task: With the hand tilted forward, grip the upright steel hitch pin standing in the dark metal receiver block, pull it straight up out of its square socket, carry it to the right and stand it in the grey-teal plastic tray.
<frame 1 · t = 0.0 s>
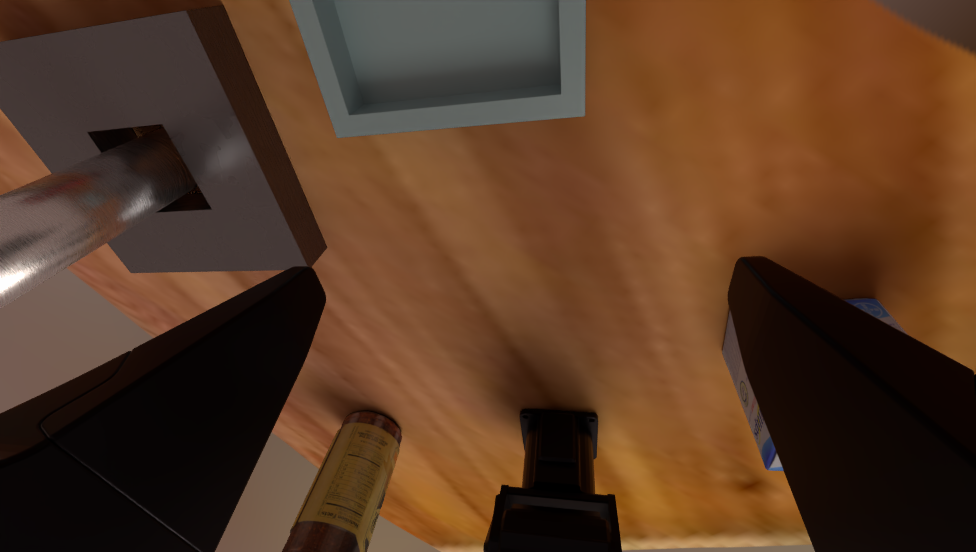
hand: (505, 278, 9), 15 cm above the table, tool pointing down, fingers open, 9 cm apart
medicine box: (790, 324, 27), on the table
hitch pin: (79, 209, 20), in the receiver block
sauce bottle: (376, 424, 41), on the table
receiver block: (183, 155, 26), on the table
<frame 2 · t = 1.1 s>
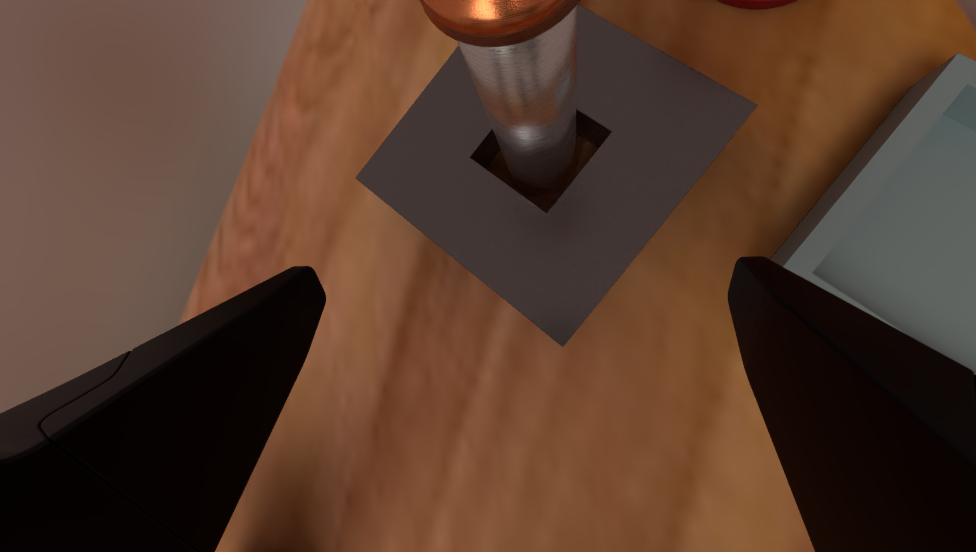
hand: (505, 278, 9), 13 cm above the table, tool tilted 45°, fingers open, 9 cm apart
hitch pin: (529, 94, 16), in the receiver block
tray: (958, 261, 19), on the table
receiver block: (542, 164, 23), on the table
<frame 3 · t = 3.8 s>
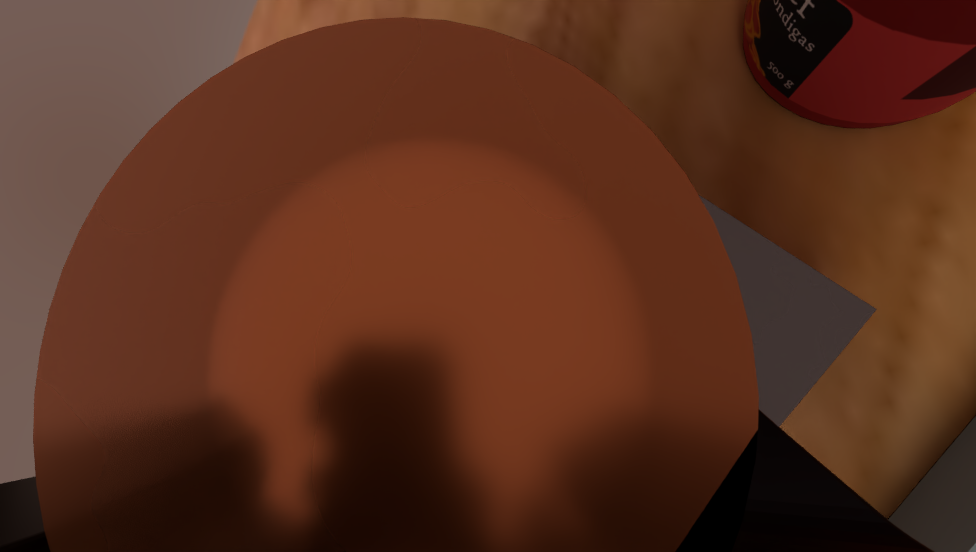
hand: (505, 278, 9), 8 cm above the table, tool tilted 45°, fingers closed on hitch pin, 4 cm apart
canned food: (849, 40, 15), on the table
hitch pin: (509, 343, 9), in the receiver block, touching gripper
receiver block: (536, 339, 16), on the table
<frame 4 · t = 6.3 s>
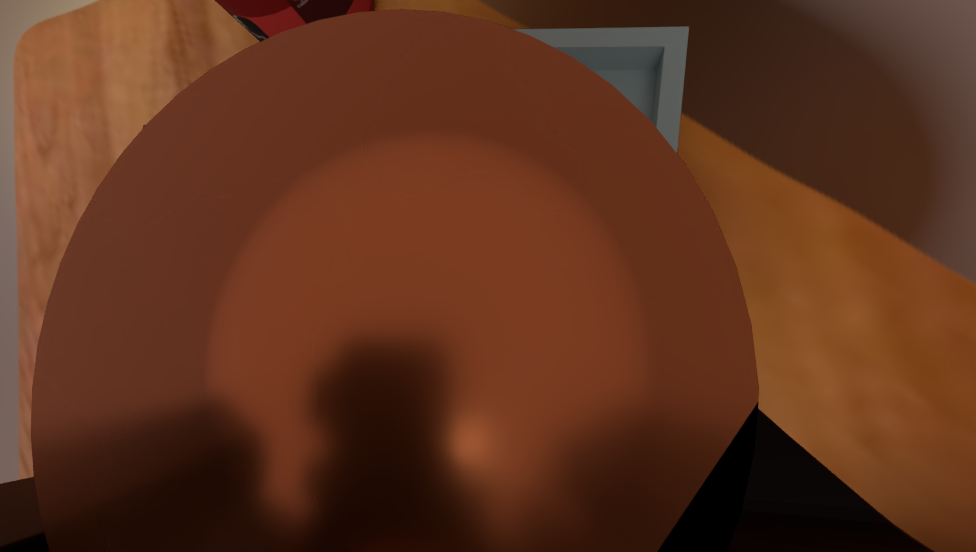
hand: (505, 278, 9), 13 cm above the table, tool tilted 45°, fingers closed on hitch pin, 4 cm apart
canned food: (323, 19, 27), on the table
hitch pin: (508, 341, 9), point 13 cm above the table, touching gripper
tray: (549, 161, 23), on the table
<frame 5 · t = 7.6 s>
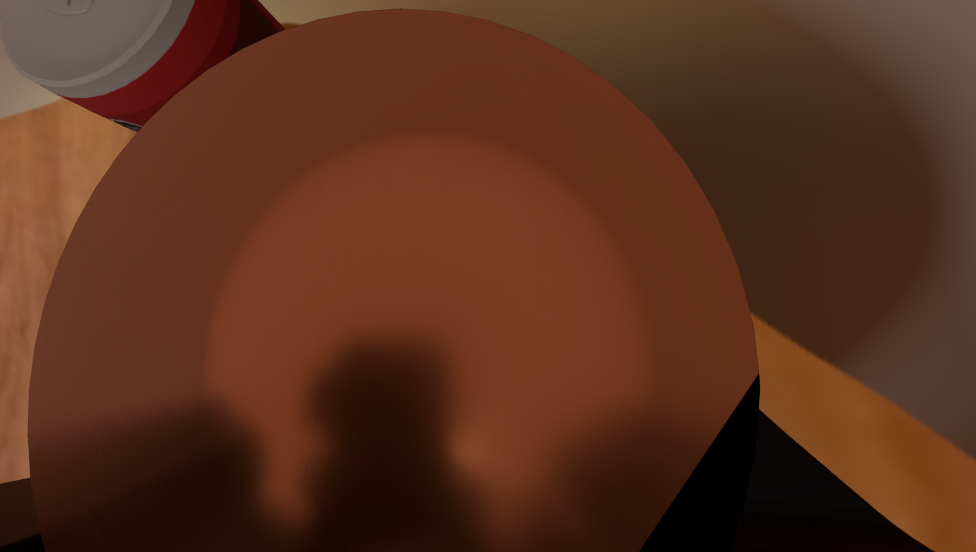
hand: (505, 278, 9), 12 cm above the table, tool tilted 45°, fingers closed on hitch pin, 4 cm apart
canned food: (296, 135, 25), on the table
hitch pin: (508, 342, 9), point 11 cm above the table, touching gripper
when the fingers open (9 cm above the table, at t = 8.7 s): hitch pin stays where it is, resting on tray.
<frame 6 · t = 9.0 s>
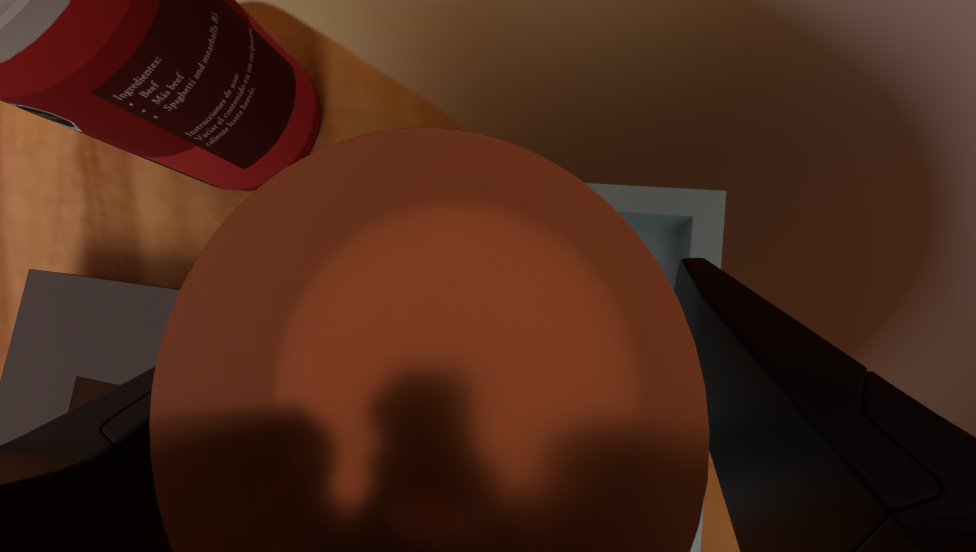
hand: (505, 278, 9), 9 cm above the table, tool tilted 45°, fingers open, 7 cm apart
canned food: (260, 128, 22), on the table
hitch pin: (514, 352, 10), in the tray, point 8 cm above the table
tray: (539, 338, 18), on the table
receiver block: (160, 429, 21), on the table
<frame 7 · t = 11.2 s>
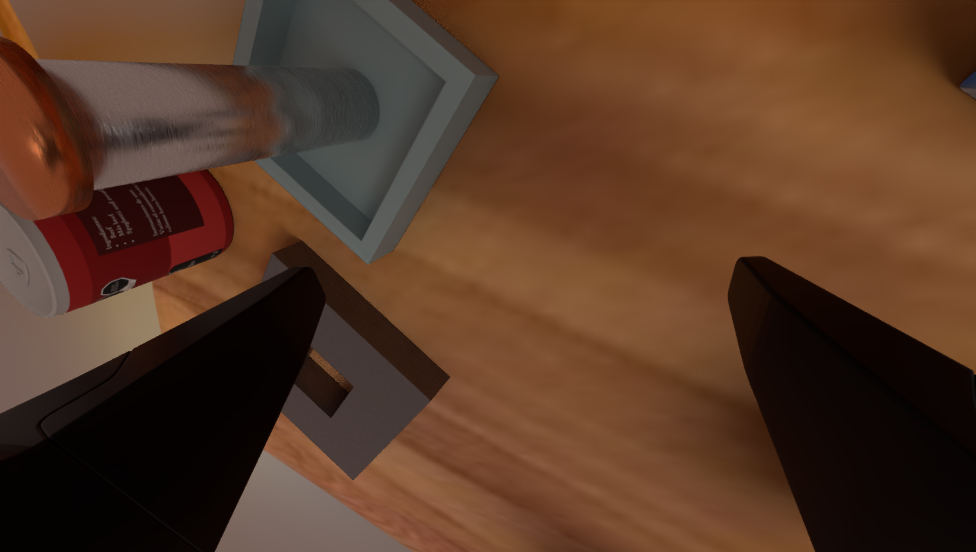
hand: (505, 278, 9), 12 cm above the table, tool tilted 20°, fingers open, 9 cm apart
canned food: (203, 207, 32), on the table
hitch pin: (233, 115, 17), in the tray, point 8 cm above the table
tray: (358, 104, 23), on the table
receiver block: (341, 361, 33), on the table
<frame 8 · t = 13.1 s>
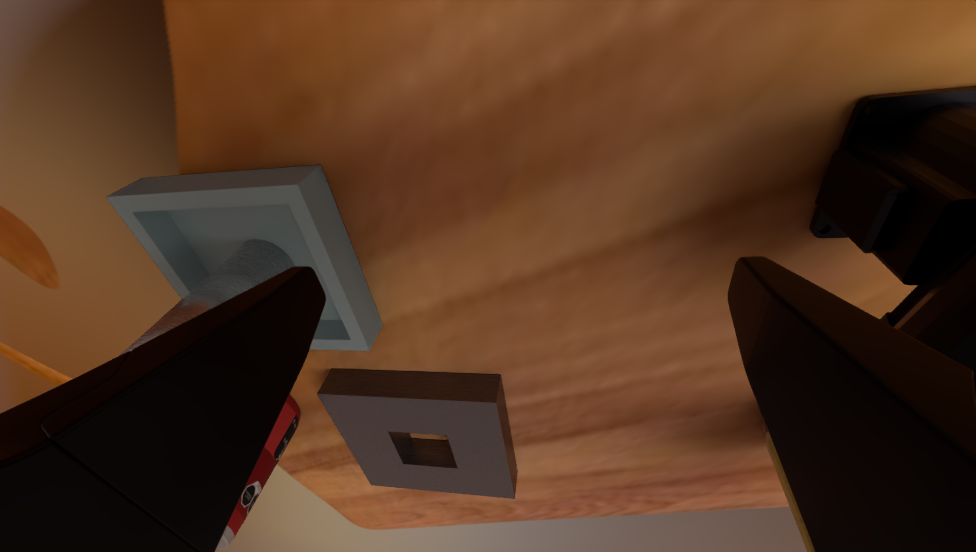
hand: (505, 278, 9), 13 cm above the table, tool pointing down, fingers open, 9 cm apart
canned food: (264, 399, 39), on the table
hitch pin: (192, 341, 21), in the tray, point 8 cm above the table
tray: (272, 257, 27), on the table
sauce bottle: (804, 411, 29), on the table
receiver block: (431, 424, 37), on the table
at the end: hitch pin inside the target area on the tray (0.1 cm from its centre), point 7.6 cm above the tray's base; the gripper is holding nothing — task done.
